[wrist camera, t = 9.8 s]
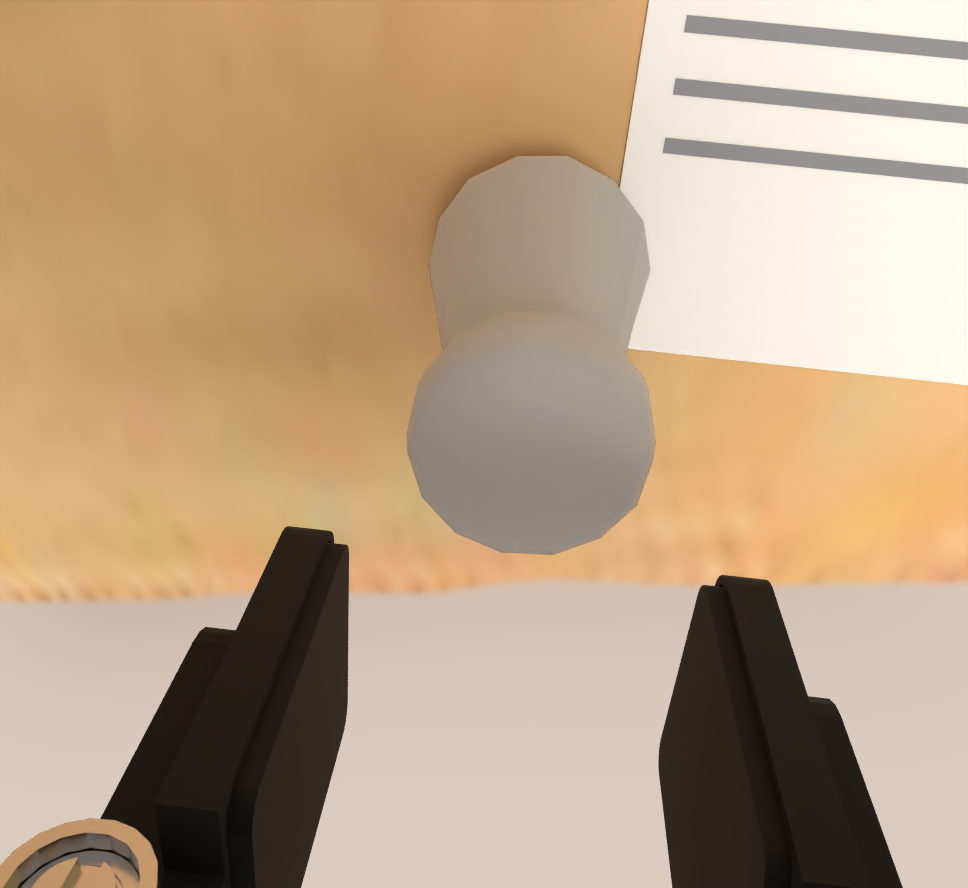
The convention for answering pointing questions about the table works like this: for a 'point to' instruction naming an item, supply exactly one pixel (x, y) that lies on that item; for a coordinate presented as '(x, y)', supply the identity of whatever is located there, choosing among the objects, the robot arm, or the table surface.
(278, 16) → the table surface
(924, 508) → the table surface
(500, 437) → the salt shaker
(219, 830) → the robot arm
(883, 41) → the letter
